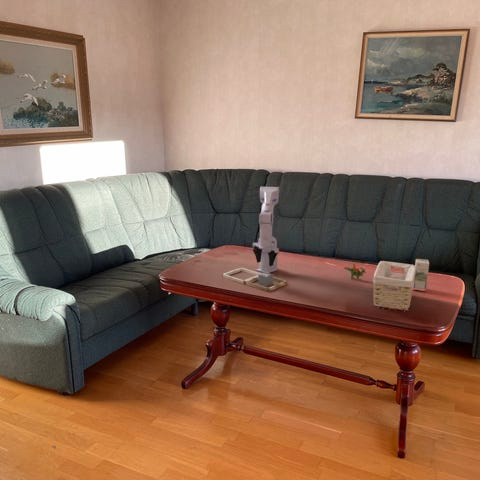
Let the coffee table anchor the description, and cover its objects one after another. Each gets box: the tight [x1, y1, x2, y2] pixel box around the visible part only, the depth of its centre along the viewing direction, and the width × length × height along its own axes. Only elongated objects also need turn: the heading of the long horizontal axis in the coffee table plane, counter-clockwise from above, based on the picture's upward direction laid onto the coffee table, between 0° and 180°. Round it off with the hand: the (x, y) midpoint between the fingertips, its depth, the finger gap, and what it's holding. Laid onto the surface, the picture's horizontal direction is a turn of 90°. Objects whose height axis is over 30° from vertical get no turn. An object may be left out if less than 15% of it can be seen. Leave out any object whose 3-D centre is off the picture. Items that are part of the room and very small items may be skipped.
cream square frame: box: [221, 267, 262, 285], centre depth 231 cm, size 15×15×2 cm
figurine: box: [343, 263, 367, 280], centre depth 229 cm, size 3×12×8 cm, turn 55°
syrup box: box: [412, 258, 430, 290], centre depth 215 cm, size 6×6×14 cm
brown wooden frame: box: [244, 276, 288, 293], centre depth 221 cm, size 15×15×2 cm
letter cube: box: [257, 272, 274, 288], centre depth 221 cm, size 5×5×5 cm
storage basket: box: [372, 260, 416, 311], centre depth 201 cm, size 24×16×15 cm
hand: (264, 263), depth 222 cm, fingers open, 7 cm apart
